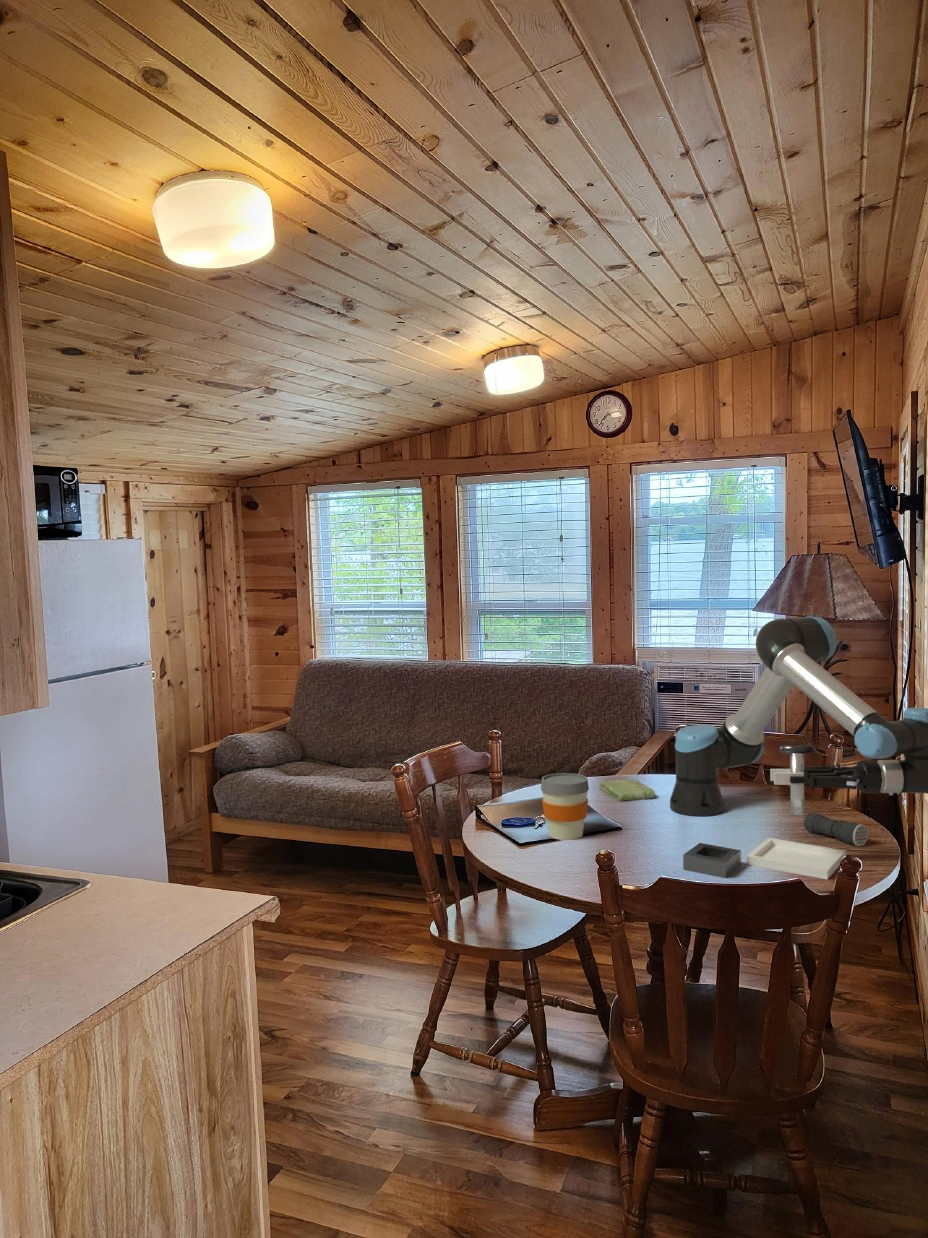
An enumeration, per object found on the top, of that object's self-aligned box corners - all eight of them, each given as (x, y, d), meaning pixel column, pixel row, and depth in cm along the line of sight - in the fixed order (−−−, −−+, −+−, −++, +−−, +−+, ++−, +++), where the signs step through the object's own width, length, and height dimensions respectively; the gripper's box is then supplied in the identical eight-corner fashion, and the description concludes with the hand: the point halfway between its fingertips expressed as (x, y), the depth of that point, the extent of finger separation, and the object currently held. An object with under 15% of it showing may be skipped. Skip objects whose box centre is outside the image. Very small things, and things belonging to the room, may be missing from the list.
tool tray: (746, 864, 204) (746, 856, 204) (768, 845, 217) (768, 837, 217) (827, 879, 193) (827, 870, 193) (845, 858, 206) (845, 850, 206)
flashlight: (801, 833, 227) (801, 812, 226) (815, 829, 229) (815, 809, 229) (854, 848, 214) (854, 827, 213) (868, 844, 216) (868, 823, 216)
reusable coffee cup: (556, 845, 222) (555, 787, 221) (533, 831, 233) (532, 776, 232) (598, 837, 227) (597, 780, 226) (574, 824, 238) (572, 770, 237)
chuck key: (780, 815, 203) (780, 746, 202) (777, 811, 206) (777, 744, 205) (817, 815, 202) (817, 746, 201) (813, 811, 205) (813, 744, 204)
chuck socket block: (683, 869, 202) (683, 854, 202) (699, 857, 210) (699, 843, 210) (725, 878, 196) (725, 862, 196) (741, 865, 204) (740, 850, 204)
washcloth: (636, 786, 279) (636, 776, 278) (658, 800, 261) (658, 790, 261) (597, 788, 276) (596, 778, 276) (616, 803, 259) (616, 793, 259)
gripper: (890, 802, 194) (780, 801, 197) (866, 784, 210) (765, 784, 212) (890, 768, 193) (780, 769, 196) (866, 753, 209) (764, 753, 212)
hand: (772, 776), depth 204 cm, fingers closed on chuck key, 3 cm apart
